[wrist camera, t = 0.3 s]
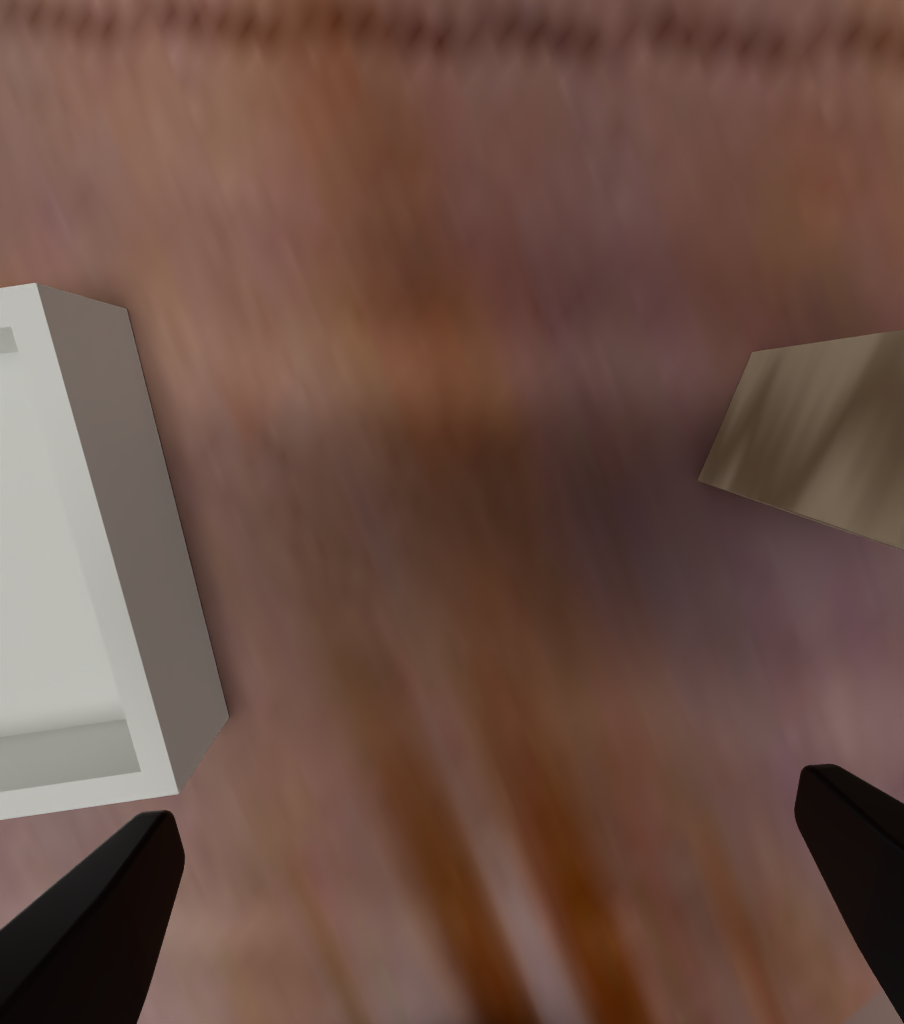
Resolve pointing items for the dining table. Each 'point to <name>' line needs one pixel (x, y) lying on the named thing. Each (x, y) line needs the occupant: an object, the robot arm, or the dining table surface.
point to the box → (91, 571)
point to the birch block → (820, 434)
